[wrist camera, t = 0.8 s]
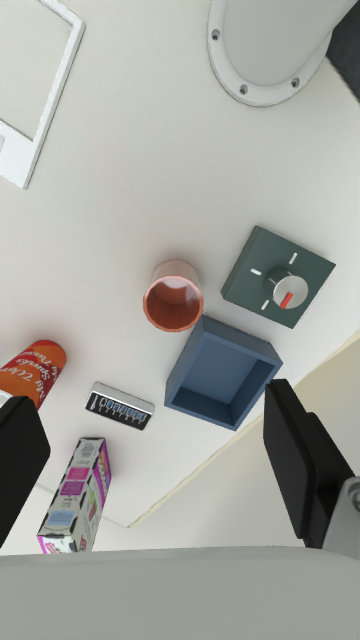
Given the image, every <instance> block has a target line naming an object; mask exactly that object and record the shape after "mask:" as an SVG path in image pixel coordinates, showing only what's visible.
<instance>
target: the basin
mask: <svg viewBox="0 0 360 640" xmlns="http://www.w3.org/2000/svg"><path fill="white" fill-rule="evenodd" d="M282 365H283V362H282V361H281V359H280V357H279V356H278V354H277V353H276V351H275V349H274V348H273V346H272V344H271V343H268V342H266V341H264V340H261V339H259V338H257V337H254V336H252V335H250V334H247V333H245V332H242V331H240V330H238V329H235V328H233V327H231V326H228V325H226V324H224V323H221V322H219V321H216V320H214V319H212V318H209V317H207V316H205V315H202V314H201V316H200V318H199V320H198V322H197V324H196V326H195V328H194V330H193V331H192V333H191V335H190V337H189V339H188V341H187V343H186V345H185V347H184V349H183V351H182V353H181V355H180V357H179V359H178V361H177V363H176V364H175V366H174V368H173V370H172V372H171V374H170V376H169V378H168V380H167V382H166V391H165V401H164V406H166V407H169V408H172V409H174V410H177V411H180V412H183V413H186V414H188V415H191V416H194V417H197V418H199V419H202V420H205V421H208V422H211V423H213V424H216V425H219V426H222V427H224V428H227V429H230V430H233V431H236V430H237V429H238V428H239V426H240V425H241V423H242V422H243V420H244V419H245V418H246V416H247V415H248V413H249V412H250V410H251V409H252V408H253V406H254V405H255V403H256V402H257V400H258V399H259V398H260V396H261V395H262V393H263V392H264V390H265V385H266V384H269V383H270V380H272V379H273V377H274V376H275V375H276V373H277V372H278V370H279V369H280V367H281V366H282Z"/></svg>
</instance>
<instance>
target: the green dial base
mask: <svg viewBox="0 0 360 640" xmlns="http://www.w3.org/2000/svg"><path fill="white" fill-rule="evenodd" d="M335 266H336V264H334V263H332V262H330V261H328V260H326V259H324V258H322V257H320V256H318V255H316V254H314V253H312V252H310V251H308V250H306V249H304V248H302V247H300V246H298V245H296V244H294V243H292V242H290V241H288V240H286V239H284V238H282V237H279V236H277V235H275V234H273V233H271V232H269V231H267V230H265V229H263V228H261V227H258V226H255V228H254V230H253V232H252V234H251V236H250V238H249V240H248V241H247V243H246V245H245V247H244V249H243V251H242V253H241V255H240V257H239V259H238V260H237V262H236V264H235V266H234V268H233V270H232V272H231V274H230V276H229V278H228V279H227V281H226V283H225V285H224V287H223V289H222V291H221V294H222V296H223V299H225V300H227V301H230V302H232V303H234V304H236V305H239V306H241V307H243V308H246V309H248V310H250V311H252V312H255V313H257V314H259V315H262V316H264V317H266V318H268V319H271V320H273V321H275V322H277V323H280V324H282V325H284V326H287V327H289V328H291V329H293V328H294V326H295V325H296V324H297V322H298V321H299V319H300V318H301V316H302V315H303V313H304V312H305V310H306V309H307V307H308V306H309V304H310V303H311V301H312V300H313V298H314V297H315V295H316V294H317V292H318V291H319V289H320V288H321V287H322V285H323V284H324V282H325V281H326V279H327V278H328V276H329V275H330V273H331V272H332V270H333V269H334V267H335ZM279 267H283V268H287V269H289V270H290V271H292V272H293V273H295V274H296V275H298V276H300V277H301V278H303V279H304V280H305V281H306V283H307V285H308V294H307V297H306V299H305V300H304V302H303V303H302V304H300V305H299V306H297V307H295V308H290V309H286V308H285V309H283V308H281V307H280V306H278V305H277V304H276V303H275V302H274V301H273V299H272V298H271V297H270V296H269V295H268V294H267V293H266V292H265V290H264V287H263V282H264V278H265V276H266V275H267V274H268V273H269V272H270V271H271V270H273V269H275V268H279Z"/></svg>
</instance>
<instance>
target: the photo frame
mask: <svg viewBox="0 0 360 640" xmlns="http://www.w3.org/2000/svg"><path fill="white" fill-rule="evenodd" d="M40 1H41V2H43V3H44V4H45V5H47V6H48V7H49V8H51V9H52V10H53V11H54V12H56V13H57V14H58V15H60V16H61V17H62V18H64V19H65V20H66V21H68V22H69V23H70V24H71V25H73V28H72V31H71V34H70V36H69V39H68V42H67V45H66V48H65V51H64V54H63V56H62V59H61V62H60V65H59V68H58V71H57V74H56V76H55V79H54V82H53V85H52V88H51V91H50V94H49V96H48V99H47V102H46V105H45V108H44V111H43V114H42V117H41V119H40V122H39V125H38V128H37V131H36V134H35V137H34V139H33V141H31V140H30V139H28V138H27V137H25V136H24V135H22V134H21V133H19V132H18V131H16V130H15V129H13V128H12V127H10V126H8V125H7V124H5V123H4V122H2V121H1V120H0V175H1V176H2V177H4V178H6V179H7V180H9V181H11V182H12V183H14V184H16V185H17V186H19V187H20V188H22V189H27V186H28V183H29V180H30V178H31V175H32V172H33V169H34V167H35V164H36V161H37V158H38V156H39V153H40V150H41V147H42V145H43V142H44V139H45V136H46V134H47V131H48V128H49V125H50V123H51V120H52V117H53V114H54V112H55V109H56V106H57V103H58V101H59V98H60V95H61V92H62V90H63V87H64V84H65V81H66V79H67V76H68V73H69V70H70V68H71V65H72V62H73V59H74V56H75V54H76V51H77V48H78V45H79V43H80V40H81V37H82V34H83V32H84V29H85V24H84V22H83V20H81V19H80V18H79V17H77V16H76V15H75V14H74V13H72V12H71V11H70V10H68V9H67V8H66V7H65V6H63V5H62V4H61V3H59V2H58V1H57V0H40Z"/></svg>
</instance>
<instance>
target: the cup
mask: <svg viewBox="0 0 360 640" xmlns="http://www.w3.org/2000/svg"><path fill="white" fill-rule="evenodd" d="M143 310H144V312H145V314H146V317H147V319H148V320H149V321H150V322H151V323H152V324H153V325H154V326H155V327H156V328H159V329H161V330H164V331H166V332H180V331H183V330H186V329H189V328H190V327H192V326H193V325H194V324H195V323H196V322H197V321H198V320H199V318H200V316H201V314H202V312H203V296H202V291H201V286H200V281H199V278H198V275H197V272H196V271H195V269H194V268H193V267H192V266H191V265H190V264H188V263H186V262H184V261H181V260H169V261H166V262H164V263H162V264H161V265H159V266H158V267H157V269H156V270H155V271H154V273H153V276H152V278H151V280H150V283H149V285H148V287H147V290H146V292H145V295H144V297H143Z"/></svg>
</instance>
